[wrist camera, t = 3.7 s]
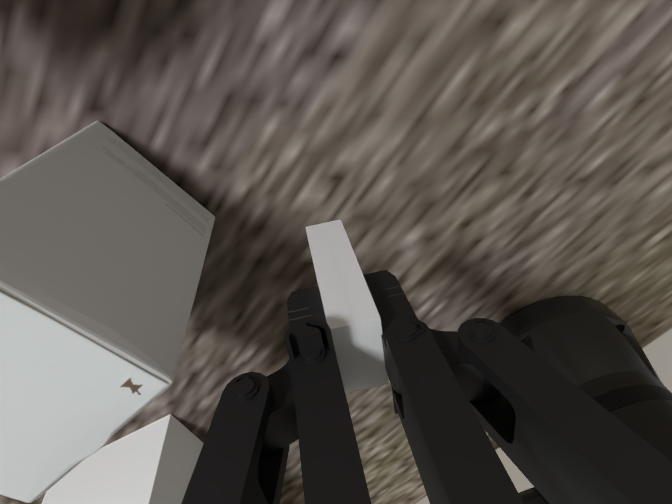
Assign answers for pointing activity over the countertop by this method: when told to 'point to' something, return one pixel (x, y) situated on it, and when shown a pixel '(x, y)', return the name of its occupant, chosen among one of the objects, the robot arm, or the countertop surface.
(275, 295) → the countertop surface
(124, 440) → the milk
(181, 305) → the supplement box
